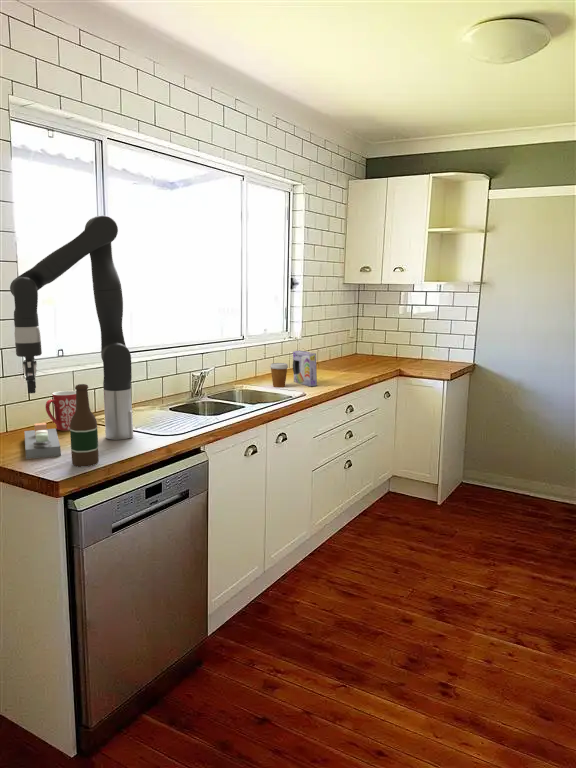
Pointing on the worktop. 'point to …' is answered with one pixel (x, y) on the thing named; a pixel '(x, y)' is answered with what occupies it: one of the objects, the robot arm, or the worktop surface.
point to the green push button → (42, 437)
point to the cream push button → (41, 431)
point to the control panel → (42, 445)
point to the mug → (62, 408)
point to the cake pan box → (304, 368)
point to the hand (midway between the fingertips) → (32, 390)
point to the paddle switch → (40, 427)
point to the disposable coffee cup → (279, 374)
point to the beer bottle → (83, 431)
